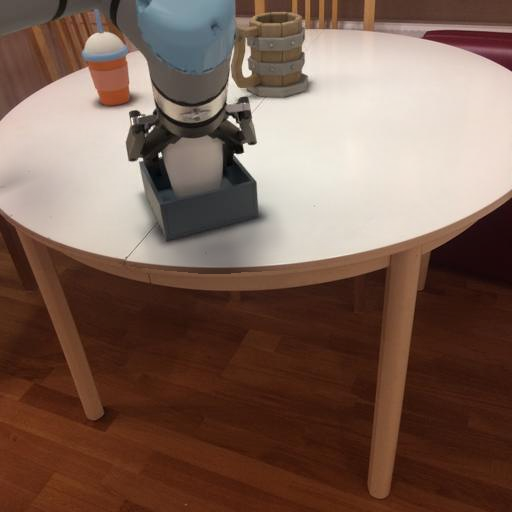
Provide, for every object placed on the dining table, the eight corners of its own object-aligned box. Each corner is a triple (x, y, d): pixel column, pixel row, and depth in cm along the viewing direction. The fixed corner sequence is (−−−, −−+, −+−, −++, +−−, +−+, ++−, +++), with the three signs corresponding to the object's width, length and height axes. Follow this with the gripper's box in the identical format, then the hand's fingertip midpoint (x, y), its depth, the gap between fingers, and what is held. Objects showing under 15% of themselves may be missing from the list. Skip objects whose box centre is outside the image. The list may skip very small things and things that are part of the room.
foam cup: (196, 180, 81) (185, 98, 73) (244, 196, 77) (238, 110, 69) (153, 208, 75) (136, 122, 67) (202, 227, 71) (190, 137, 63)
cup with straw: (96, 94, 115) (76, 6, 104) (138, 91, 116) (122, 2, 105) (91, 110, 108) (68, 16, 97) (135, 106, 108) (117, 13, 98)
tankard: (283, 72, 121) (282, 2, 112) (318, 87, 112) (320, 12, 103) (208, 93, 113) (200, 18, 103) (239, 111, 104) (233, 31, 95)
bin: (166, 240, 69) (159, 204, 66) (145, 194, 79) (138, 161, 76) (258, 217, 73) (256, 181, 70) (227, 175, 83) (224, 143, 79)
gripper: (84, 140, 51) (119, 198, 73) (302, 112, 54) (272, 176, 76) (74, 68, 52) (111, 147, 74) (288, 45, 55) (263, 128, 77)
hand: (192, 162), depth 75 cm, fingers closed on foam cup, 9 cm apart
